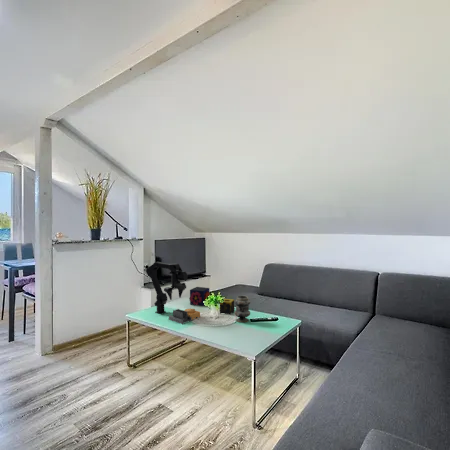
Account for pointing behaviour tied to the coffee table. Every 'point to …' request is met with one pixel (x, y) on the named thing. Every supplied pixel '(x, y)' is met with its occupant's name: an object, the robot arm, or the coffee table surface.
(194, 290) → the decorative cube
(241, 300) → the stone urn vase
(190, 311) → the brown low lump
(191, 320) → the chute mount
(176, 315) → the chute
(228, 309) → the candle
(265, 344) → the coffee table surface
